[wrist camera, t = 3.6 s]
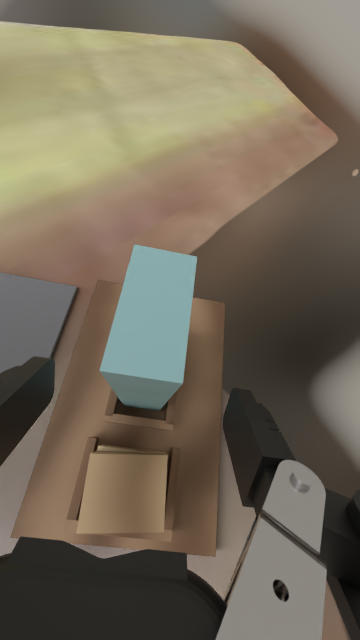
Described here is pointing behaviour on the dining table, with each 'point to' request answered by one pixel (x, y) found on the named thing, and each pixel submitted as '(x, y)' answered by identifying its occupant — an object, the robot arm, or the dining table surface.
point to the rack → (133, 438)
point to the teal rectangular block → (150, 328)
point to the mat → (31, 318)
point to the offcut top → (124, 493)
